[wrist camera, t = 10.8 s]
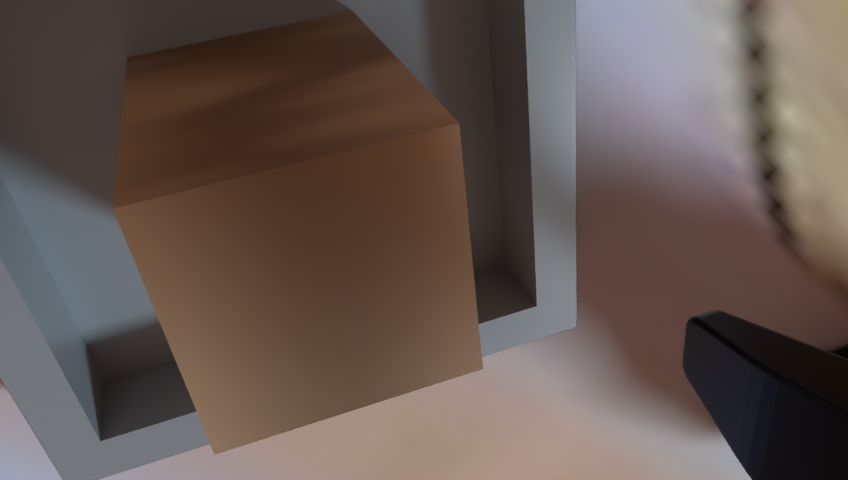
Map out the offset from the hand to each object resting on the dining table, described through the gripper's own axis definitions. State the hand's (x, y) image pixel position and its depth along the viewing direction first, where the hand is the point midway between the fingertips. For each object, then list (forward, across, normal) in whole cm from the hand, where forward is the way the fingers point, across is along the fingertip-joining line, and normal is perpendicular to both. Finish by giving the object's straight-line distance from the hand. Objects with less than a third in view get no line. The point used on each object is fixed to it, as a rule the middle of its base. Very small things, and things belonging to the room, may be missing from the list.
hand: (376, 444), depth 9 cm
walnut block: (+10, 0, 0) cm, 10 cm away
